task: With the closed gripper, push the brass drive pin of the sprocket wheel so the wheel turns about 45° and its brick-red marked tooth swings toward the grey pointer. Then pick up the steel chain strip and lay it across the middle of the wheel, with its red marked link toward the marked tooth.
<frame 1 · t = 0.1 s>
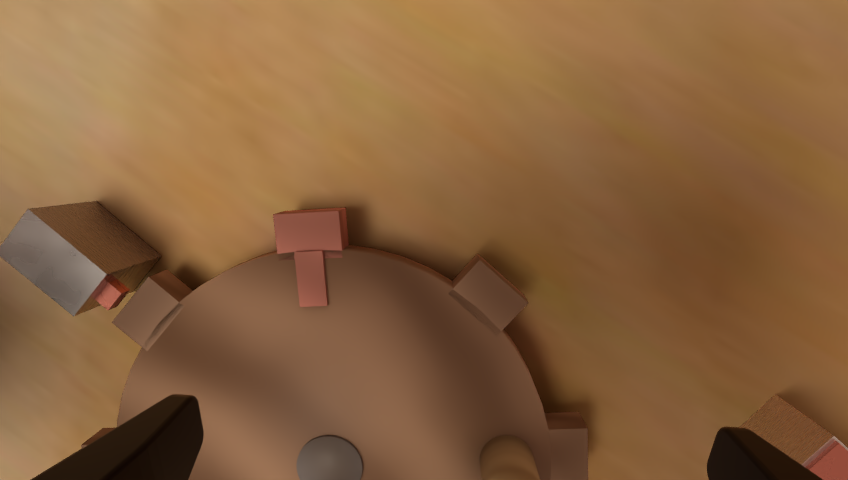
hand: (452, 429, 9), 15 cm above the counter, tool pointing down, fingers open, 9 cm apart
pointer: (114, 246, 25), on the counter
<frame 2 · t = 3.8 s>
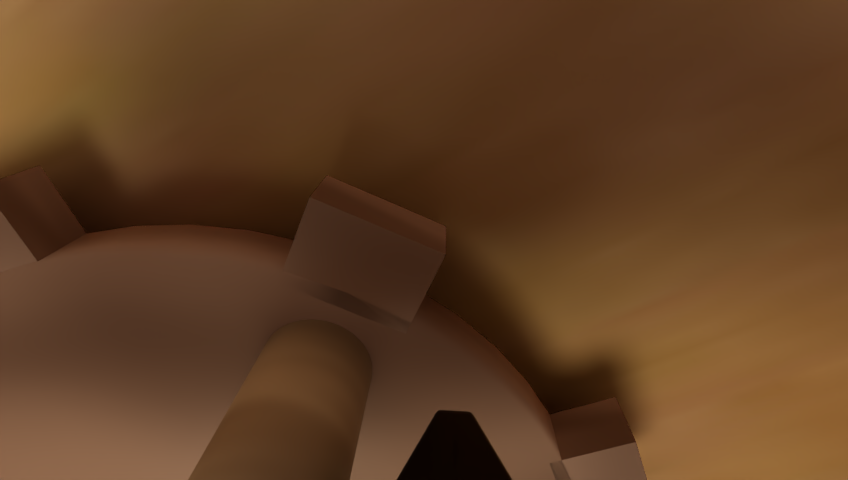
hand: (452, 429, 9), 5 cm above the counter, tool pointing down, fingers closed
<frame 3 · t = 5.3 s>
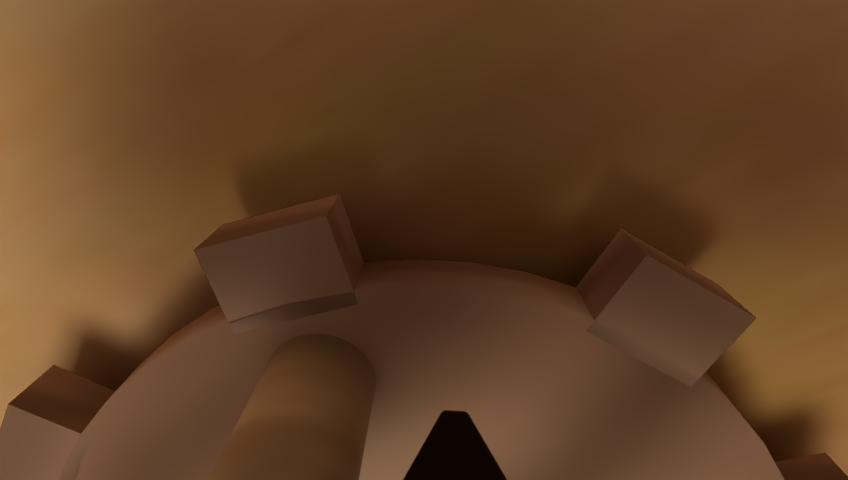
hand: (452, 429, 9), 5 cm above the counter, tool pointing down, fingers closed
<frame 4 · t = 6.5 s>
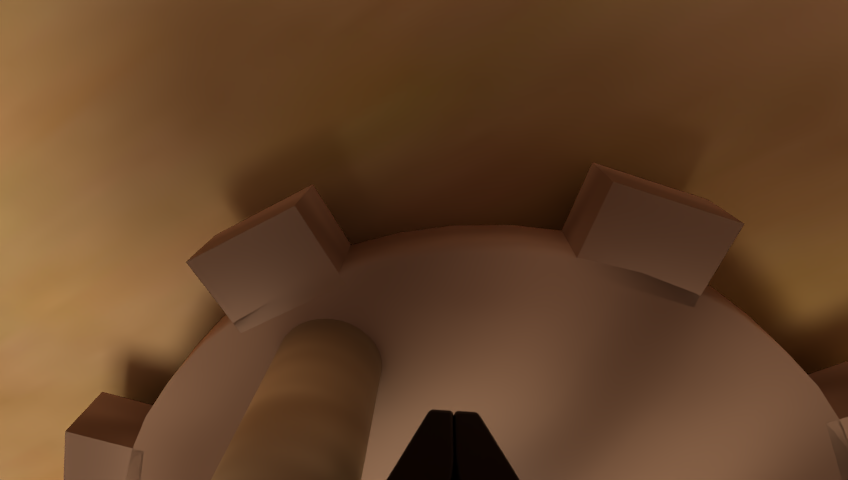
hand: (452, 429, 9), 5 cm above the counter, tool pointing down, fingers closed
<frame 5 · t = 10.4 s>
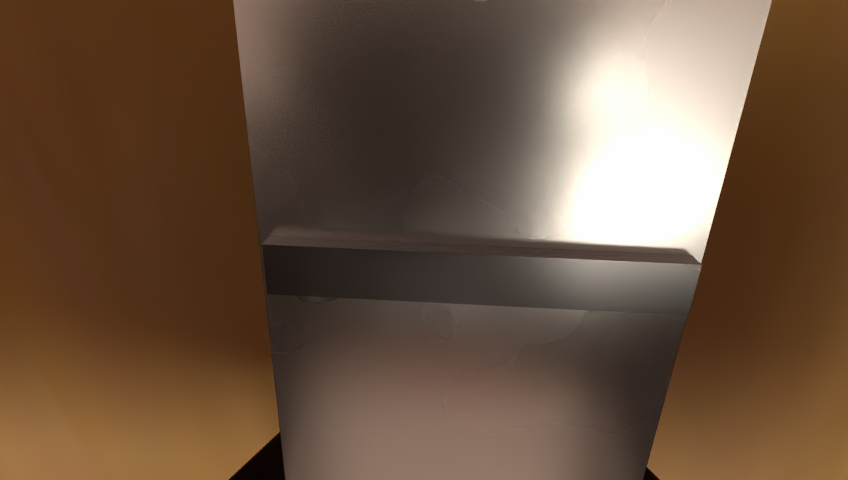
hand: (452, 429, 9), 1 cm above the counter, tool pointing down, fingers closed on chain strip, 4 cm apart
chain strip: (452, 378, 10), on the counter, touching gripper
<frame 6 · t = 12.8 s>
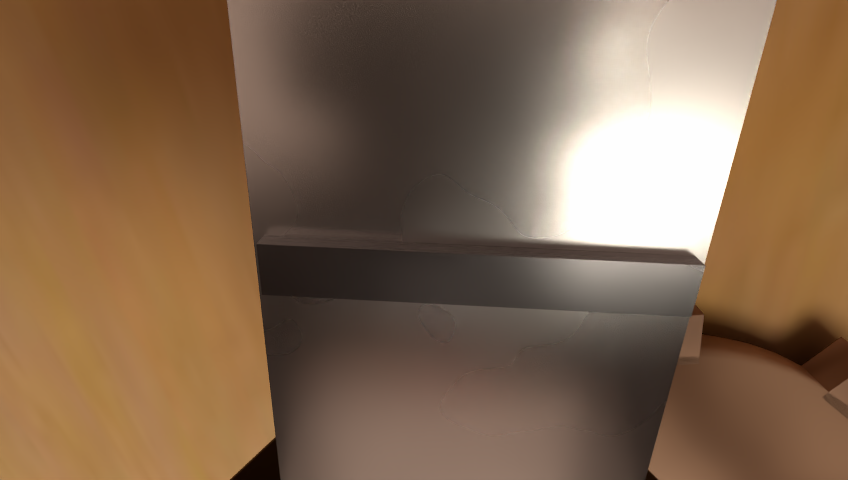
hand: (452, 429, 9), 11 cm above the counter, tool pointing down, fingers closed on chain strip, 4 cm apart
chain strip: (450, 379, 10), point 9 cm above the counter, touching gripper
when the fingers open (5 cm above the counter, at t = 15.2 s): chain strip drops 1 cm, resting on sprocket wheel.
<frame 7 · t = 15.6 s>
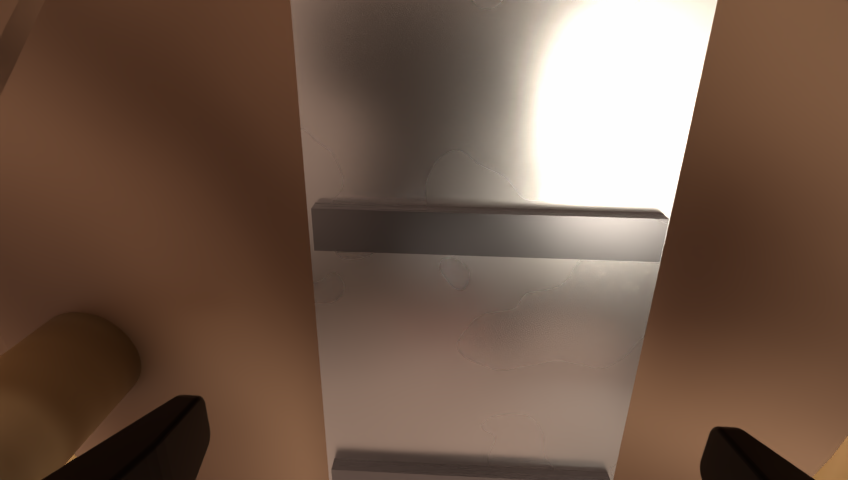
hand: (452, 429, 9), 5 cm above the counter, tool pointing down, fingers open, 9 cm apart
chain strip: (461, 347, 11), point 3 cm above the counter, touching sprocket wheel
sprocket wheel: (424, 392, 10), point 4 cm above the counter, hinge at 51.9°, touching chain strip
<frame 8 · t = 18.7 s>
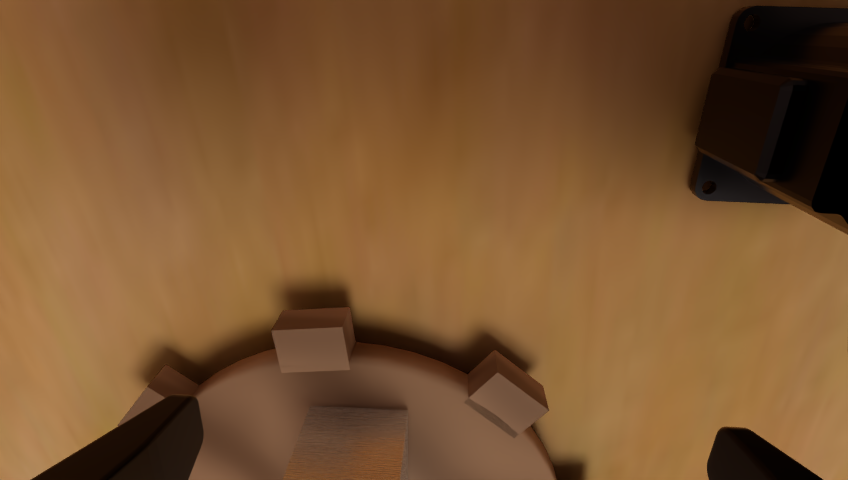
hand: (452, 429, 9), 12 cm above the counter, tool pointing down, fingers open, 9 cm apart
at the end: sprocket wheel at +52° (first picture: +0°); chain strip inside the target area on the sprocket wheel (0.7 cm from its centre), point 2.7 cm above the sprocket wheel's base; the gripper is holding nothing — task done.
